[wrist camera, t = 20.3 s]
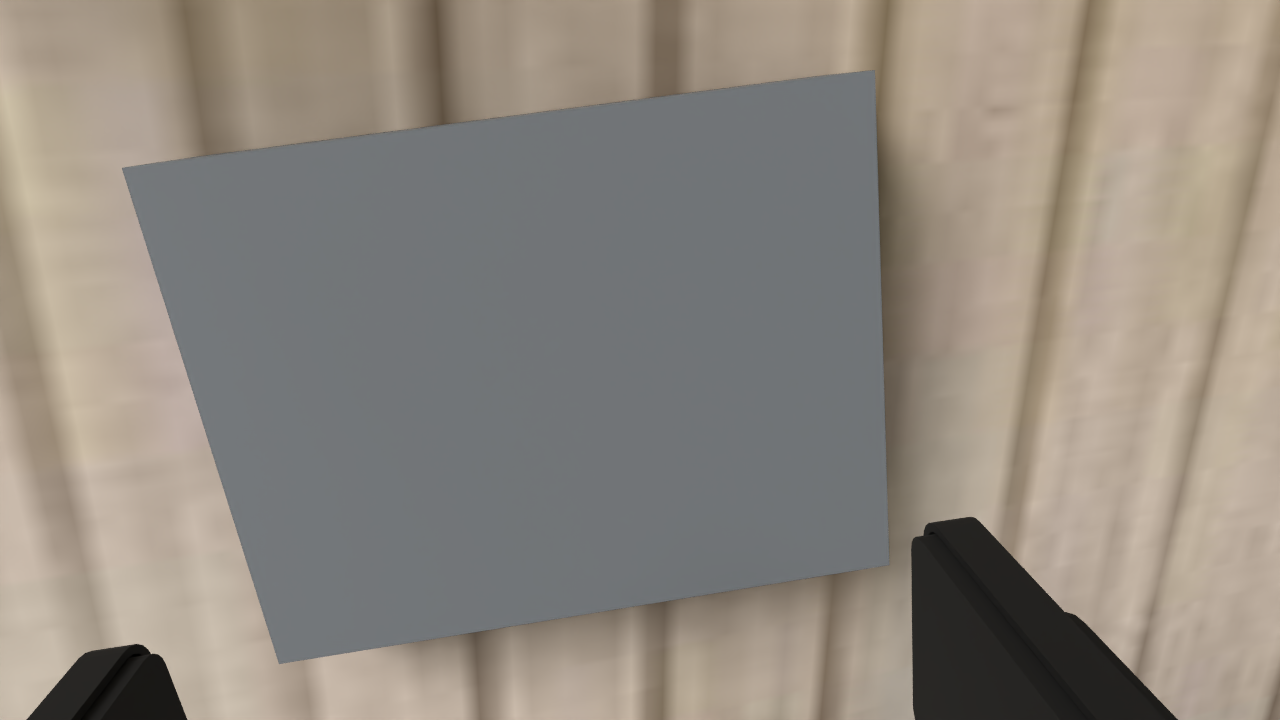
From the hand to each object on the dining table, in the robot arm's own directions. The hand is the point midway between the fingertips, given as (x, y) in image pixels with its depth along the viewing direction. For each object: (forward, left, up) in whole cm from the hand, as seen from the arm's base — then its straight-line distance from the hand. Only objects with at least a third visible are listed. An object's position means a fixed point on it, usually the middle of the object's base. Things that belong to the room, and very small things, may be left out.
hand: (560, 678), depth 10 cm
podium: (0, 0, -16) cm, 16 cm away
